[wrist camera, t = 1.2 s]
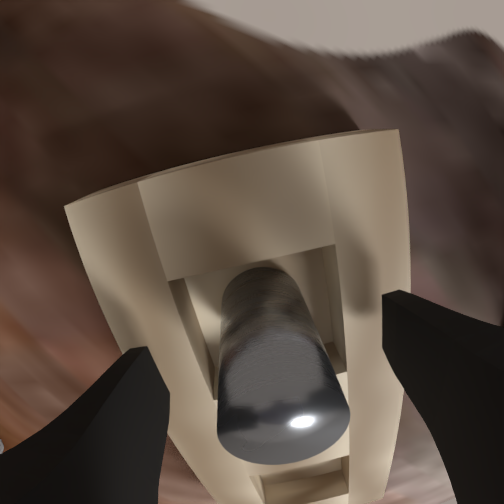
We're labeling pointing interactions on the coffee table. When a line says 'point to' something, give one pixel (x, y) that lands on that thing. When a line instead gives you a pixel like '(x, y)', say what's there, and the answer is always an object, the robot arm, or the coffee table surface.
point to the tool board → (252, 256)
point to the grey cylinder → (274, 374)
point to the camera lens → (1, 447)
